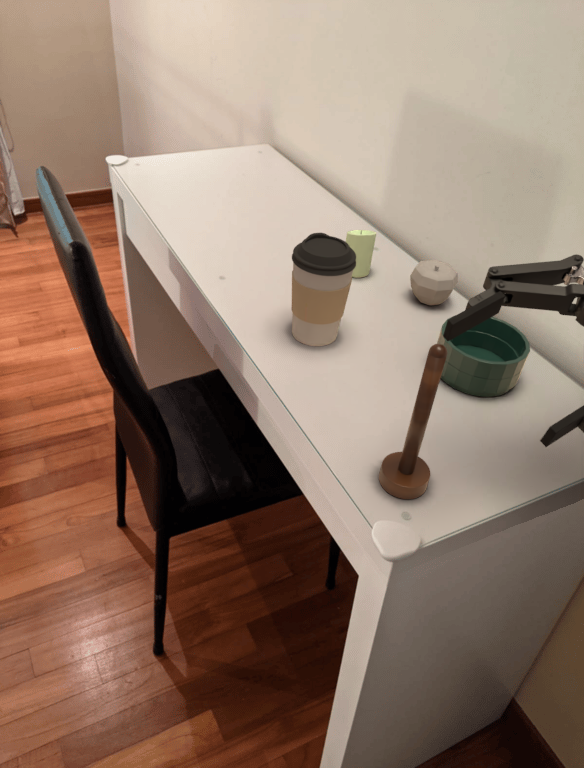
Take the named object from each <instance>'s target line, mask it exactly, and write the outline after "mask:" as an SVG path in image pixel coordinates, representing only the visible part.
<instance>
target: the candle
mask: <svg viewBox="0 0 584 768" xmlns="http://www.w3.org/2000/svg"><path fill="white" fill-rule="evenodd" d="M376 238H377V232H376V231H373V230H368V229H367V230H366V229H354V230H352V229H351V230H348V231H347V232H346V236H345V242H346V243H347V244H348V245H349V246H350V248H351V249H353V251H354V252H355V254H356V267H355V268H354V269H353V273H352V278H356V279H361V278H365V277H368V276H369V274H370V270H371V264H372V260H373V254H374V249H375V243H376Z"/></svg>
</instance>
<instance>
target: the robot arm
mask: <svg viewBox="0 0 584 768" xmlns="http://www.w3.org/2000/svg"><path fill="white" fill-rule="evenodd" d="M583 263H584V257H583V256H582V255H580V254H573V255H571V256H567V257H564V258H562V259H561V260H550V261H549V260H548V261H539V262H527V263H519V264H518V263H517V264H507V265H504V264H503V265H495V266H494V265H493V266H490V267H489V268H488V270H487V273H486V275H485V278H484V281H483V285H482V288H483V289H484V291H482V292H480V293H478V294H477V295H474V296H473V297H471V298H469V300H468V301H467V303H466V306H465V309H464V310H463V311H461V312H459V313H458V314H455V315H456V316H455V315H453V316H454V317H453V316H451V317H452V318H451V317H449V318H450V319H449V318H447V319H448V321H447V324H446V328H445V331H444V335H443V337H444V338H445V339H446V340H447V341H450V340H452V339H453V338H455V337H457V336H459V335H460V334H462V333H464V332H466V331H468V330H469V329H471V328H473V327H475V326H477V325H478V324H480V323H482V322H484V321H485V320H487V319H489V318H491V317H495V316H496V315H499V313H500V311H501V308H502V307H508V308H509V307H510V308H518V309H519V308H520V309H529V310H540V311H551V312H558V314H559V315H561V316H567V317H568V316H570V317H576V318H575V321H576V322H577V323H578V325H580V326H582V327H584V266H583V265H582V264H583ZM561 284H563V285H564V286H563V285H561ZM575 299H576V301H575ZM574 301H575V303H574ZM576 428H578V429H579V430H580V431H581V432H582V433H583V434H584V404H583V405H582V406H580V407H579V408H577V409H576V410H574V411H572V412H571V413H569V414H568V415H566V416H564V417H562V418H561V419H559V420H558V421H556V422H555V423H553V424H552V425H550V426H549V427H548V428H547V430H546V431H545V433H544V434H543V435H542V437H541V438H540V440H539V442H540V443H542V445H543V446H544V447H545V448H547V447H549V446H551V445H552V444H554V443H555V442H557V441H558V440H560V439H562V438H563V437H564V436H566V435H568V434H569V433H571V432H572V431H573V430H575V429H576Z"/></svg>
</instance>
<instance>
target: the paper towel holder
mask: <svg viewBox="0 0 584 768" xmlns="http://www.w3.org/2000/svg"><path fill="white" fill-rule="evenodd" d="M446 357H447V349H446V347H445V346H444V345H442V344H437V343H435V344H432V345H431V346H430V347H429V348H428V352H427V356H426V360H425V363H424V368H423V371H422V375H421V379H420V382H419V386H418V389H417V390H418V391H417V393H416V397H415V402H414V405H413V410H412V413H411V418H410V420H409V425H408V429H407V433H406V436H405V440H404V444H403V448H402V451H396V452H392V453H389V454H388V455H386V456H385V457H384V458H383V460H382V462H381V466H380V468H379V469H380V470H379V474H378V481H379V484H380V486H381V487H382V488H383V490H384V491H385V492H386V493H387V494H389V495H391V496H392V497H394V498H398V499H401V500H402V499H403V500H413V499H417V498H420V497H421V496H423V495H424V493H425V492H426V491H427V489H428V484H429V481H430V478H431V468H430V466H429V465H428V464H427V462H426V461H425V460H424V459H423V458H421V457H420V456H419V454H420V451H421V447H422V444H423V441H424V437H425V434H426V429H427V427H428V423H429V419H430V416H431V413H432V409H433V406H434V403H435V399H436V395H437V392H438V389H439V386H440V385H439V384H440V382H441V375H442V371H443V368H444V364H445V361H446Z"/></svg>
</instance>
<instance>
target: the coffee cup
mask: <svg viewBox="0 0 584 768" xmlns="http://www.w3.org/2000/svg"><path fill="white" fill-rule="evenodd" d="M291 261H292V271H291V315H292V316H291V334H292V336H293V338H294V339H295V340H296V341H297V342H299V343H301V344H303V345H306V346H310V347H323V346H328V345H330V344H332V343H334V342H335V341H336V339H337V337H338V333H339V328H340V324H341V321H342V318H343V316H344V313H345V309H346V305H347V302H348V297H349V293H350V291H351V290H350V289H351V287H352V282H353V277H352V273H353V269H354V268H355V267H356V254H355V252H354V251H353V249H351V248H350V246H349V245H348V244H347V243H346V240H343V239H342V238H339V237H336V236H331V235H329V234H327V233H324V232H313V233H311V234H309V235H307V237H306V238H304V239H303V240H302V241H301V242H299V243H298V244H296V246H294V247H293V250H292V254H291Z"/></svg>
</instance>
